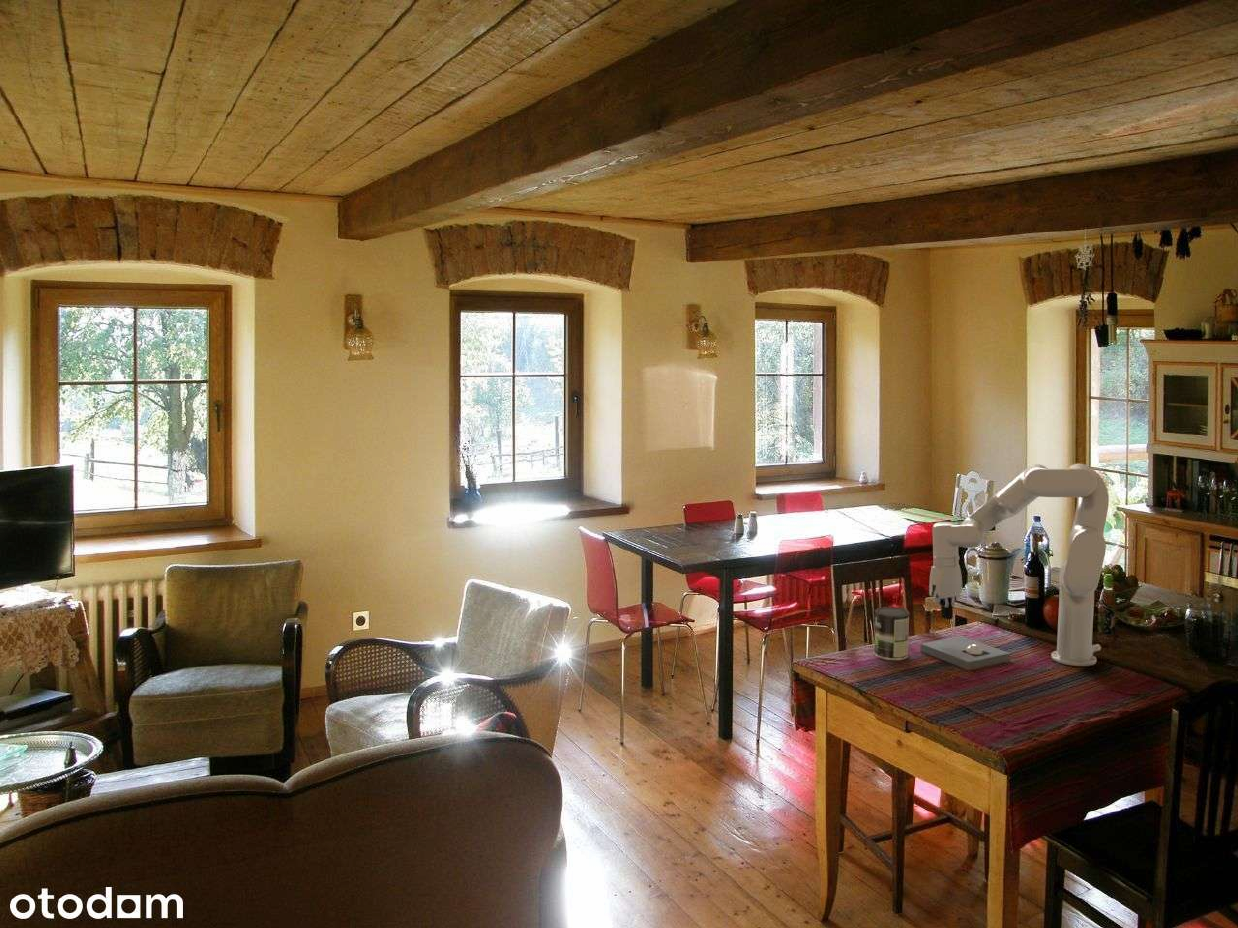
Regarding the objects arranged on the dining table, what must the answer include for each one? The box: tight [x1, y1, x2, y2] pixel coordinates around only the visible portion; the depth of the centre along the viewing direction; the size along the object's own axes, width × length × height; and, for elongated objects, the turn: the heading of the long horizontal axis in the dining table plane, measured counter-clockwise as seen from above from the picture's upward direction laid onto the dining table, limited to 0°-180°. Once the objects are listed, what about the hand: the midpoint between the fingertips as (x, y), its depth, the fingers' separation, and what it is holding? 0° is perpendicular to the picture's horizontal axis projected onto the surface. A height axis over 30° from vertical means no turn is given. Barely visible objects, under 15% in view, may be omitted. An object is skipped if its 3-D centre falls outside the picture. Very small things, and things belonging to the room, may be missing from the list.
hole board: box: [920, 635, 1011, 671], centre depth 311 cm, size 17×20×2 cm
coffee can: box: [873, 606, 911, 661], centre depth 312 cm, size 10×10×14 cm
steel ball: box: [966, 644, 983, 657], centre depth 307 cm, size 5×5×5 cm
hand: (947, 618), depth 318 cm, fingers closed
